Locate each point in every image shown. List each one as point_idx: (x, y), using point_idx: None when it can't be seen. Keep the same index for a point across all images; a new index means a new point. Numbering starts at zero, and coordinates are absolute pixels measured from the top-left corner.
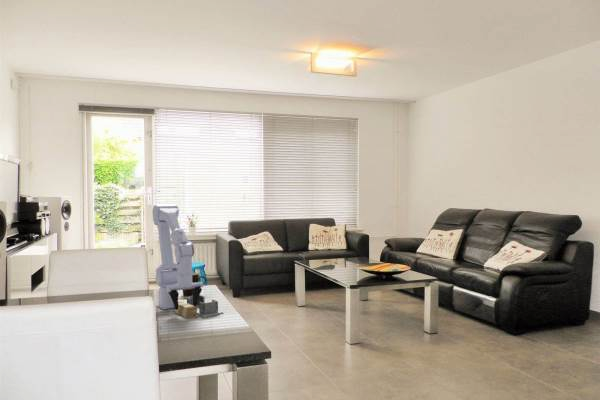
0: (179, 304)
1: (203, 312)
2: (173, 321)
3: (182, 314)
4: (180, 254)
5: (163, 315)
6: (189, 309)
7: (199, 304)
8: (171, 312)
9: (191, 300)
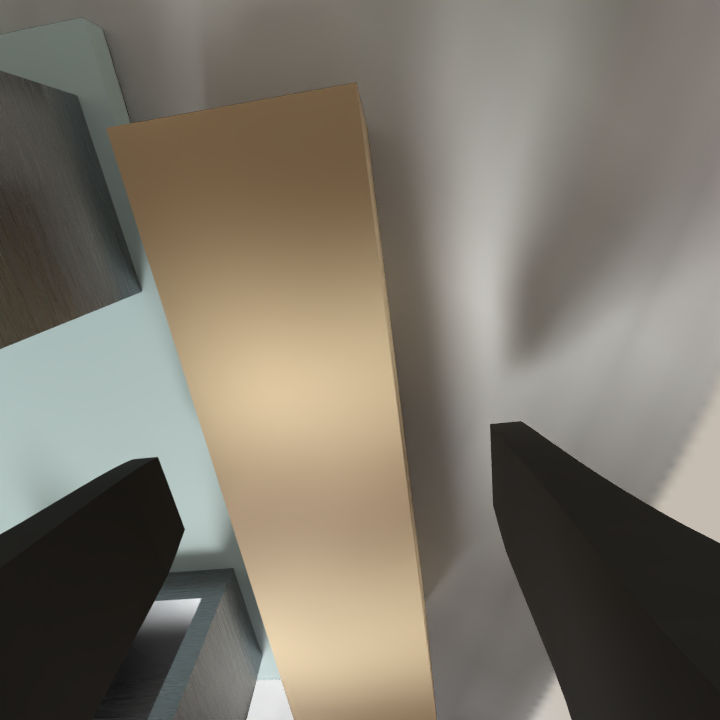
0: (413, 602)
1: (44, 85)
2: (686, 18)
3: (398, 388)
4: None
5: None
6: (324, 94)
7: (17, 312)
8: (470, 598)
9: (164, 697)
